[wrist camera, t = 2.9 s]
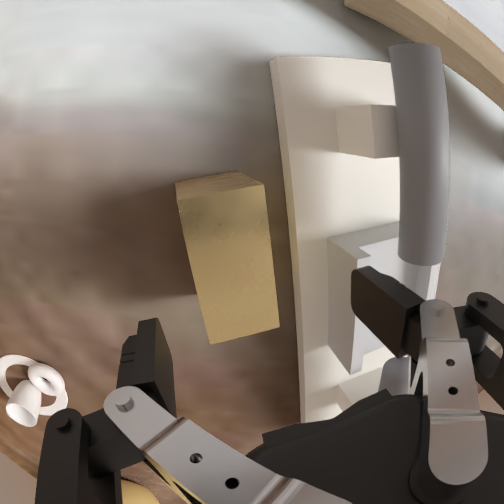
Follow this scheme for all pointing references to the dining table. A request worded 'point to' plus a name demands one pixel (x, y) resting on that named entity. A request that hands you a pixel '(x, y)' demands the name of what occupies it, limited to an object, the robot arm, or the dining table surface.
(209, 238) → the gold rectangular block
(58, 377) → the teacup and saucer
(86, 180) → the dining table surface
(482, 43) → the hammer
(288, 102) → the shaft rig
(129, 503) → the tan round ball
